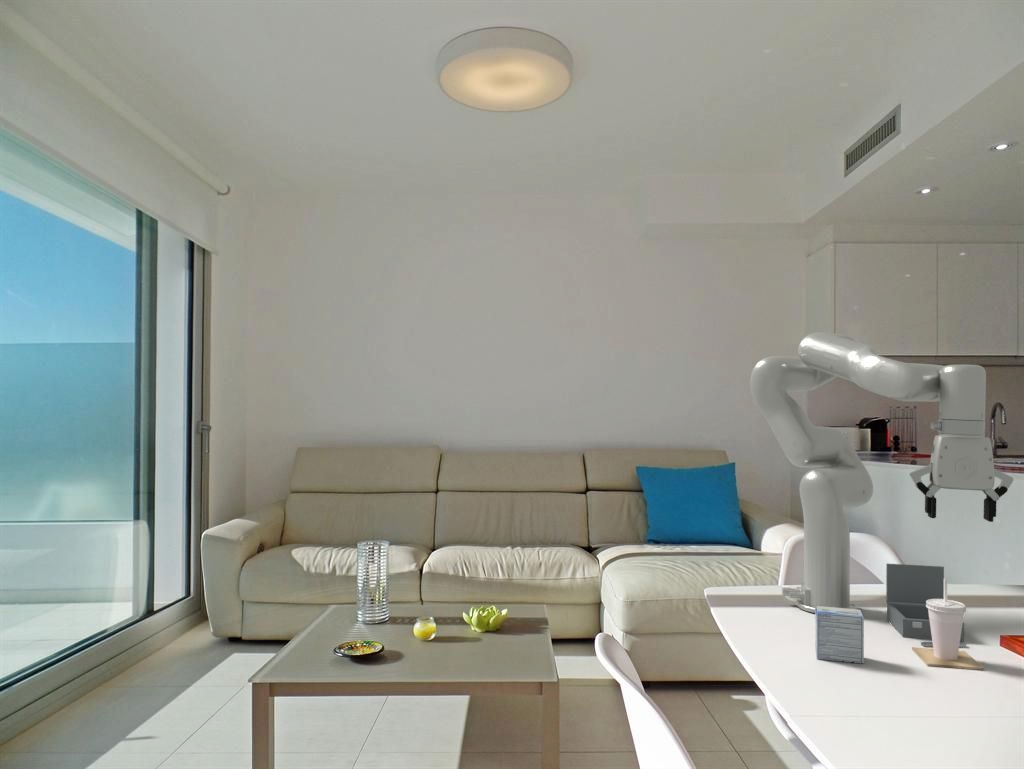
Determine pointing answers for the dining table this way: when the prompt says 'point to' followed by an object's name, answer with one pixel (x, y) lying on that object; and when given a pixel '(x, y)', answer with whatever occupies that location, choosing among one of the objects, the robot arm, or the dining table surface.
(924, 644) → the rod
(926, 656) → the pad
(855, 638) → the medicine box
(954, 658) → the smoothie
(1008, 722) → the dining table surface
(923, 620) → the case
